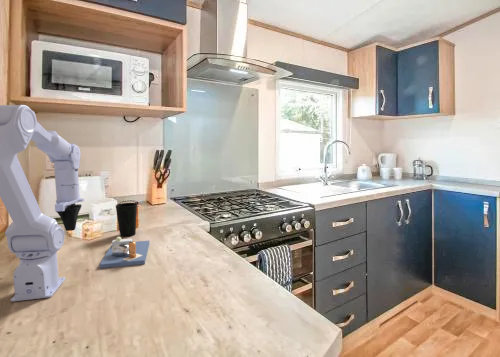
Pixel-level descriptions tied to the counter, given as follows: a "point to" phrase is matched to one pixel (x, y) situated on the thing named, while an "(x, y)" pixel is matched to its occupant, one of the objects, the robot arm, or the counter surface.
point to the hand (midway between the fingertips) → (70, 229)
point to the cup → (127, 218)
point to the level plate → (125, 260)
